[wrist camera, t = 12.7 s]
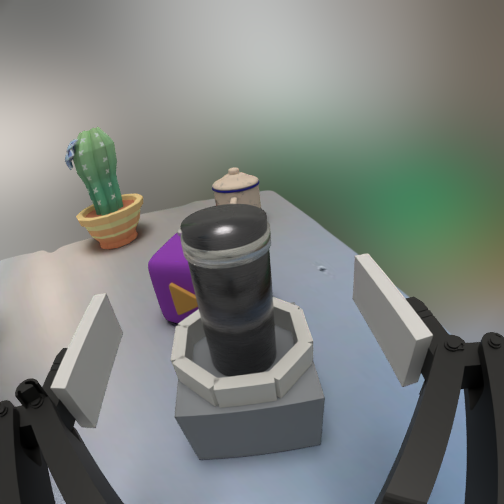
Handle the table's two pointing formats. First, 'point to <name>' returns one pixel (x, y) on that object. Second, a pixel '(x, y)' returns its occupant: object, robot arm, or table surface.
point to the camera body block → (249, 393)
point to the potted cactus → (103, 190)
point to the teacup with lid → (237, 189)
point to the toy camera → (173, 281)
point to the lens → (233, 285)
